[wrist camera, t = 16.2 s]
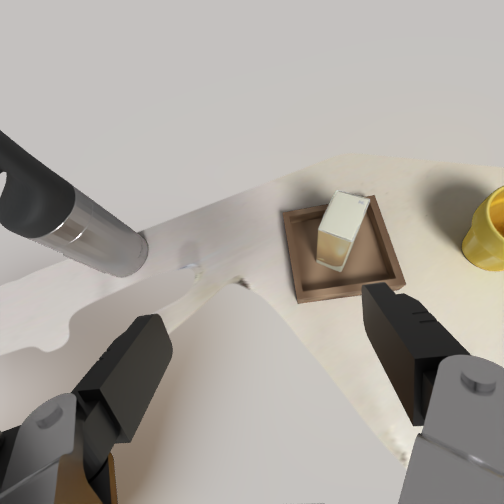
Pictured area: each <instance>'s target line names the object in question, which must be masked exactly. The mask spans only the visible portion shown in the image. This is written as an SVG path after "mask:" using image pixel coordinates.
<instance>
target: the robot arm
mask: <svg viewBox="0 0 504 504" xmlns="http://www.w3.org/2000/svg"><path fill="white" fill-rule="evenodd" d="M2 172H7V179H6V184H5V187H4V190H3V192H2V195H1V197H0V223H1V224H2V226H4V227H5V228H6V229H8V230H10V231H12V232H14V233H16V234H18V235H21V236H23V237H26V238H28V239H30V240H32V241H35V242H37V243H39V244H42V245H44V246H46V247H49V248H51V249H53V250H56V251H58V252H60V253H63V255H64V256H66V257H68V258H70V259H73V260H75V261H77V262H80V263H82V264H84V265H87V266H89V267H91V268H94V269H96V270H98V271H101V272H103V273H108V274H111V275H113V276H116V277H126V276H129V275H131V274H133V273H135V272H136V271H137V270H138V269H139V268H140V267H141V266H142V265H143V263H144V262H145V260H146V257H147V253H148V246H147V242H146V241H145V239H144V238H143V237H142V236H140V235H139V234H138V233H136V232H135V231H133V230H132V229H131V228H130V227H128V226H127V225H125V224H124V223H123V222H121V221H120V220H118V219H117V218H116V217H115V216H113V215H112V214H111V213H109V212H108V211H106V210H105V209H104V208H102V207H101V206H100V205H98V204H97V203H95V202H94V201H93V200H92V199H90V198H89V197H87V196H86V195H85V194H83V193H82V192H81V191H79V190H78V189H76V188H75V187H74V186H72V185H71V184H70V183H69V182H67V181H66V180H64V179H63V178H62V177H60V176H59V175H57V174H56V173H55V172H53V171H51V170H50V169H49V168H48V167H46V166H45V165H44V164H42V163H41V162H40V161H38V160H37V159H36V158H34V157H33V156H32V155H30V154H29V153H28V152H26V151H25V150H24V149H23V148H21V147H20V146H19V145H18V144H16V143H15V142H14V141H13V140H11V139H10V138H9V137H8V136H7V135H5V134H4V133H3V132H2V131H0V173H2ZM361 292H362V306H363V321H364V326H365V330H366V333H367V336H368V338H369V340H370V342H371V344H372V346H373V348H374V350H375V352H376V354H377V356H378V358H379V360H380V362H381V364H382V366H383V368H384V370H385V372H386V374H387V376H388V378H389V380H390V382H391V384H392V386H393V387H394V389H395V391H396V393H397V395H398V397H399V399H400V401H401V403H402V405H403V407H404V409H405V411H406V413H407V415H408V417H409V419H410V421H411V423H412V425H413V426H424V427H423V430H422V433H421V434H420V433H418V435H417V437H416V440H415V443H414V446H413V450H412V454H411V457H410V461H409V465H408V469H407V472H406V476H405V480H404V484H403V488H402V491H401V495H400V499H399V502H398V504H504V368H503V367H501V366H499V365H497V364H495V363H494V362H491V361H489V360H486V359H483V358H480V357H476V356H471V355H470V353H469V352H468V351H467V350H466V349H465V348H464V347H463V346H462V345H461V344H460V343H459V342H458V341H457V340H456V339H455V338H454V337H453V336H452V335H451V334H450V333H449V332H448V331H447V330H446V329H445V328H444V327H443V326H442V325H441V324H440V323H439V322H437V320H436V318H435V317H434V316H433V315H432V314H431V313H429V312H428V310H427V309H426V308H425V307H424V306H423V305H422V304H421V303H420V302H419V301H418V300H416V299H414V298H412V297H410V296H408V295H406V294H404V293H403V294H395V293H394V292H393V291H392V289H391V288H390V287H389V286H388V285H387V284H386V283H385V282H379V283H372V284H365V285H362V288H361ZM172 352H173V348H172V343H171V340H170V338H169V336H168V333H167V331H166V328H165V326H164V323H163V321H162V318H161V317H160V315H158V314H151V315H144V316H139V317H137V318H136V319H135V321H134V322H133V323H132V324H131V325H130V327H129V328H128V329H127V330H126V331H125V332H124V333H123V334H122V335H120V336H119V337H118V338H116V339H115V340H114V341H113V343H112V344H111V345H110V346H109V347H108V349H107V351H106V352H104V354H103V355H102V356H101V357H100V358H99V361H97V362H96V363H95V364H94V365H93V367H92V368H91V369H90V370H89V371H88V373H87V374H86V375H85V376H84V377H83V379H82V380H81V381H80V382H79V383H78V385H77V386H76V387H75V388H74V389H73V391H72V392H71V393H65V394H61V395H58V396H56V397H54V398H52V399H50V400H48V401H46V402H45V403H43V404H42V405H41V406H39V407H38V408H37V409H36V410H34V411H33V412H32V413H31V414H30V415H29V416H28V417H27V418H26V419H25V421H24V422H23V423H22V425H20V426H17V427H14V428H12V429H9V430H6V431H4V432H1V431H0V504H118V497H117V488H116V487H117V486H116V476H115V465H114V457H113V455H112V453H111V452H110V451H111V449H112V447H113V446H114V444H115V443H130V442H131V440H132V438H133V436H134V434H135V432H136V430H137V428H138V426H139V424H140V422H141V420H142V418H143V416H144V414H145V411H146V409H147V408H148V405H149V403H150V401H151V399H152V397H153V395H154V393H155V391H156V389H157V387H158V385H159V383H160V381H161V379H162V377H163V375H164V372H165V370H166V369H167V366H168V364H169V362H170V360H171V358H172Z"/></svg>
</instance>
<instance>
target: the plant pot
mask: <svg viewBox="0 0 504 504" xmlns="http://www.w3.org/2000/svg"><path fill="white" fill-rule="evenodd" d="M462 251H463V253H464V255H465V257H466V258H467V259H468V260H469V261H470V262H471V263H472V264H474V265H475V266H477V267H479V268H481V269H484V270H488V271H504V186H502V187H500V188H498V189H497V190H495V191H494V192H493V193H492V194H490V195H489V196H488V197H487V198H486V199H485V200H484V201H483V202H482V203H481V205H480V206H479V207H478V208H477V209H476V211H475V213H474V215H473V218H472V226H471V228H470V230H469V231H468V233H467V235H466V236H465V238H464V240H463V242H462Z"/></svg>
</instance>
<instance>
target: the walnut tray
mask: <svg viewBox="0 0 504 504" xmlns="http://www.w3.org/2000/svg"><path fill="white" fill-rule="evenodd" d="M364 198H368V199H370V202H369V205H368V208H367V210H366V213H365V216H364V218H363V221H362V223H361V226H360V228H359V231H358V233H357V236H356V238H355V241H354V244H353V246H352V249H351V251H350V254H349V256H348V259H347V261H346V263H345V265H344V268H343V270H342V271H341V272H338V271H336V270H333V269H331V268H328V267H326V266H324V265H321V264H319V263H317V262H316V256H317V240H318V228H319V226H320V223H321V221H322V219H323V216H324V214H325V212H326V210H327V207H328V205H329V204H326V205H320V206H315V207H310V208H305V209H299V210H294V211H289V212H284V213H283V218H284V224H285V230H286V236H287V242H288V248H289V254H290V260H291V266H292V272H293V278H294V284H295V290H296V296H297V301H298V304H299V303H307V302H314V301H321V300H329V299H336V298H343V297H351V296H358V295H362V292H361V288H362V285H365V284H372V283H379V282H385V283H386V284H387V285H388V286H389V287H390V288H391V289H392V291H395V290H399V289H401V288H402V287H403V286H404V285H406V282H405V279H404V277H403V274H402V271H401V268H400V265H399V262H398V260H397V257H396V254H395V251H394V248H393V246H392V243H391V240H390V237H389V234H388V232H387V229H386V226H385V223H384V220H383V217H382V215H381V212H380V209H379V206H378V203H377V201H376V198H375V195H373V196H368V197H364Z"/></svg>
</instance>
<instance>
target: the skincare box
mask: <svg viewBox="0 0 504 504" xmlns="http://www.w3.org/2000/svg"><path fill="white" fill-rule="evenodd" d="M369 202H370V199H368V198H364V197H361V196H357V195H354V194H351V193H347V192H343V191H339V190H337V191H336V192H335V194H334V195H333V197H332V199H331V201H330V203H329V205H328V207H327V210H326V212H325V214H324V216H323V219H322V221H321V223H320V226H319V228H318V240H317V256H316V262H317V263H319V264H321V265H324V266H326V267H328V268H331V269H333V270H336V271H338V272H341V271H342V270H343V268H344V265H345V263H346V261H347V259H348V256H349V254H350V251H351V249H352V246H353V244H354V241H355V238H356V236H357V233H358V231H359V228H360V226H361V223H362V221H363V218H364V216H365V213H366V210H367V208H368V205H369Z"/></svg>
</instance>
